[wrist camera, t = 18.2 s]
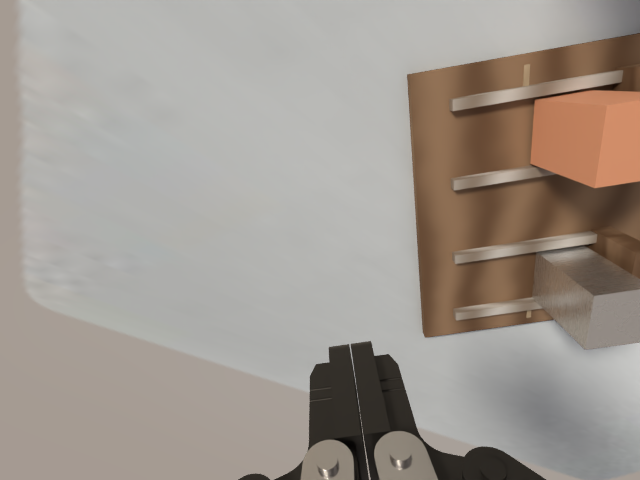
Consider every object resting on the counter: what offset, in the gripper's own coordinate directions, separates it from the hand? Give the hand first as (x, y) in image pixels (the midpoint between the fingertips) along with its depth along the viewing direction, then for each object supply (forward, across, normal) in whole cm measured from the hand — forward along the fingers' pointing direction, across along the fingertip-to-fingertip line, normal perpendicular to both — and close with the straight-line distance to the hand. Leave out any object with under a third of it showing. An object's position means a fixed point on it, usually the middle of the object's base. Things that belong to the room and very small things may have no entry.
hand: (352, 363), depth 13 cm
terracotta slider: (+26, -23, -1) cm, 34 cm away
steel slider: (+26, -24, +15) cm, 38 cm away
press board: (+27, -22, +7) cm, 35 cm away
